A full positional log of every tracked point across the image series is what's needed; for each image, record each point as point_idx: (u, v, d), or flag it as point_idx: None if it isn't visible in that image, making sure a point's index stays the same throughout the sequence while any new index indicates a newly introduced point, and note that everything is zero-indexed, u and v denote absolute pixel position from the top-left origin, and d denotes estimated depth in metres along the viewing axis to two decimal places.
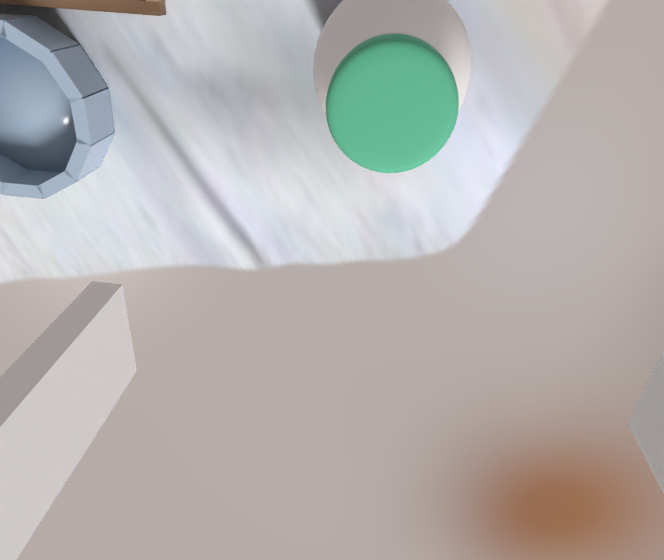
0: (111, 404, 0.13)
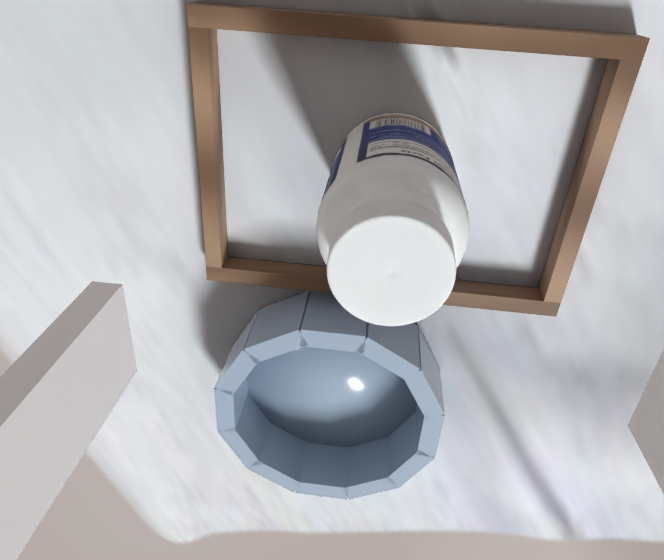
0: (111, 404, 0.13)
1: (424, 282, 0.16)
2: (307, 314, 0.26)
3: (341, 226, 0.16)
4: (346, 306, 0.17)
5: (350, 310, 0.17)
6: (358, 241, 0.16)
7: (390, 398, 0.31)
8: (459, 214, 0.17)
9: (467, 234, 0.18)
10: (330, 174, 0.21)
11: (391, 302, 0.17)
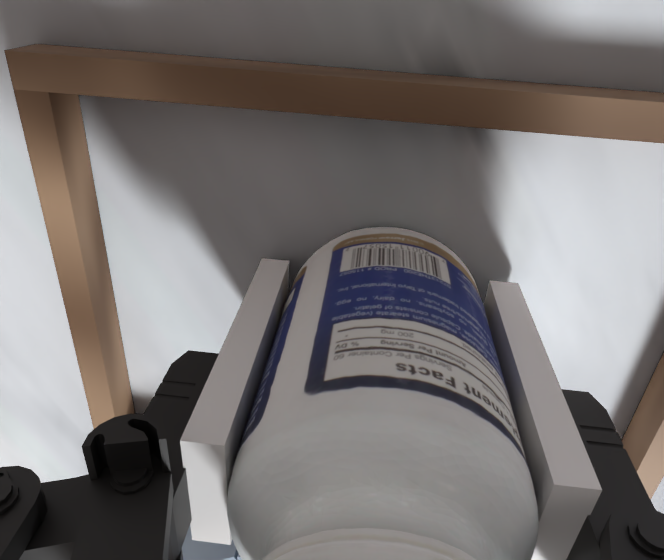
0: None
1: None
2: None
3: None
4: None
5: None
6: None
7: None
8: (523, 521, 0.08)
9: (535, 543, 0.09)
10: (268, 360, 0.11)
11: None
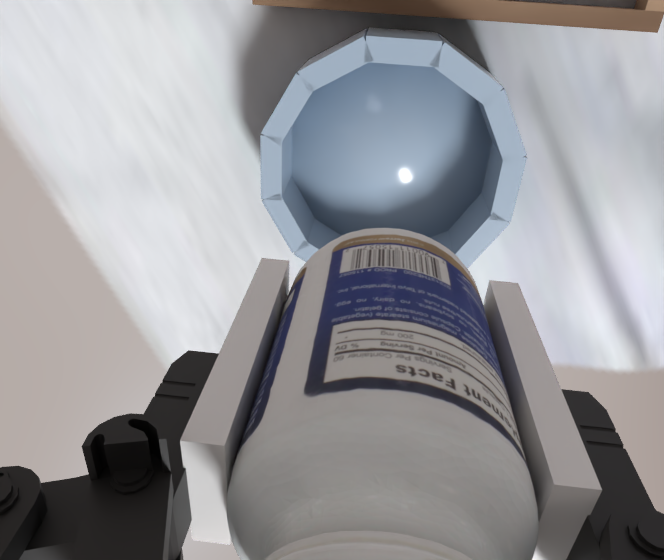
0: None
1: None
2: (370, 33, 0.23)
3: None
4: None
5: None
6: None
7: (454, 174, 0.27)
8: (523, 523, 0.08)
9: (535, 545, 0.09)
10: (267, 362, 0.11)
11: None
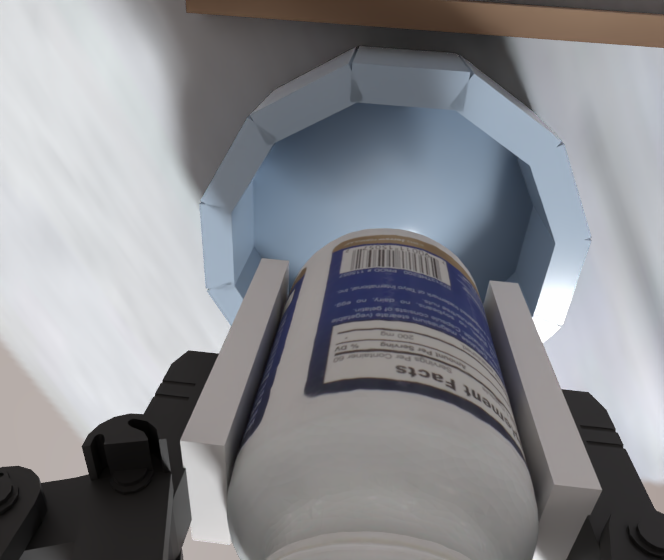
0: None
1: None
2: (360, 57, 0.15)
3: None
4: None
5: None
6: None
7: (478, 248, 0.20)
8: (523, 523, 0.08)
9: (535, 546, 0.09)
10: (267, 362, 0.11)
11: None
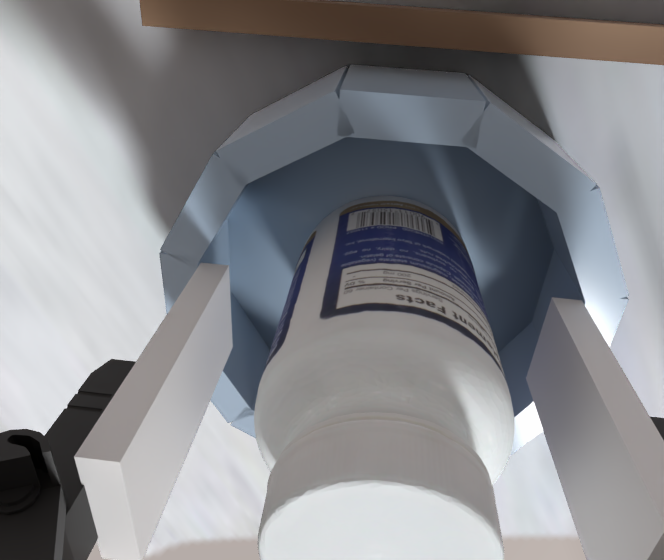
0: (218, 375, 0.14)
1: None
2: (350, 80, 0.13)
3: (285, 470, 0.09)
4: None
5: None
6: (314, 515, 0.08)
7: (489, 295, 0.17)
8: (500, 418, 0.10)
9: (512, 443, 0.10)
10: (285, 306, 0.13)
11: None
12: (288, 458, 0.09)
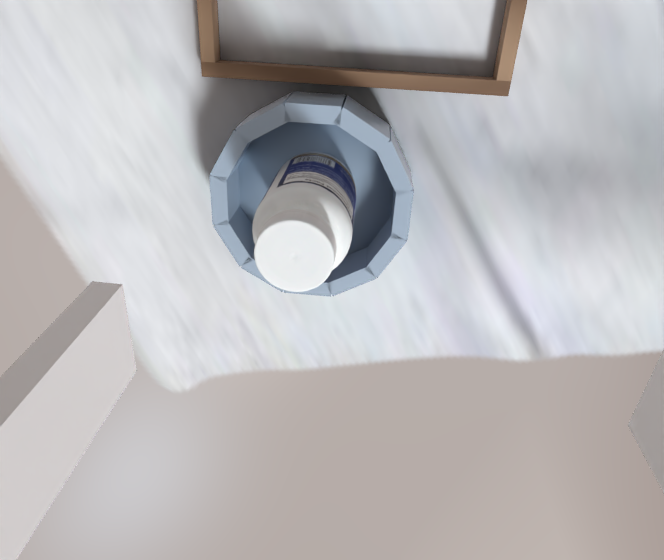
0: (111, 404, 0.13)
1: (315, 262, 0.26)
2: (290, 98, 0.30)
3: (262, 228, 0.26)
4: (268, 279, 0.26)
5: (271, 282, 0.27)
6: (272, 236, 0.25)
7: (367, 202, 0.34)
8: (341, 219, 0.27)
9: (349, 233, 0.28)
10: None
11: (296, 276, 0.26)
12: (264, 225, 0.26)
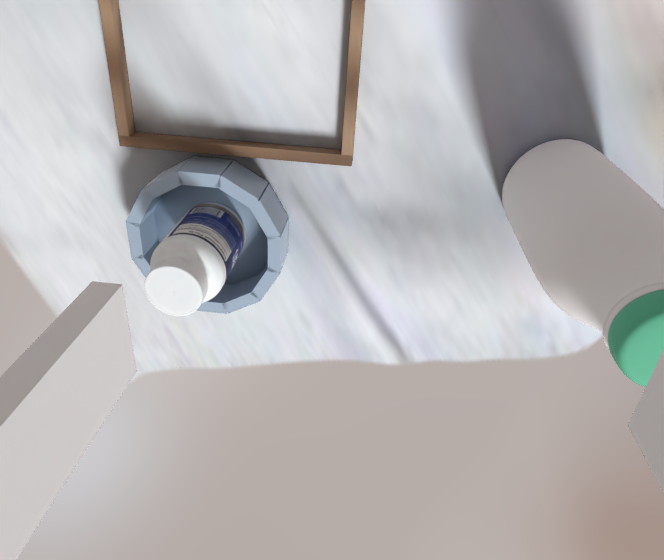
0: (111, 404, 0.13)
1: (188, 295, 0.35)
2: (185, 165, 0.39)
3: (151, 269, 0.35)
4: (156, 306, 0.36)
5: (159, 308, 0.36)
6: (155, 277, 0.35)
7: (256, 240, 0.44)
8: (213, 263, 0.37)
9: (220, 272, 0.37)
10: None
11: (176, 305, 0.36)
12: (152, 267, 0.35)
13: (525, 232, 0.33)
